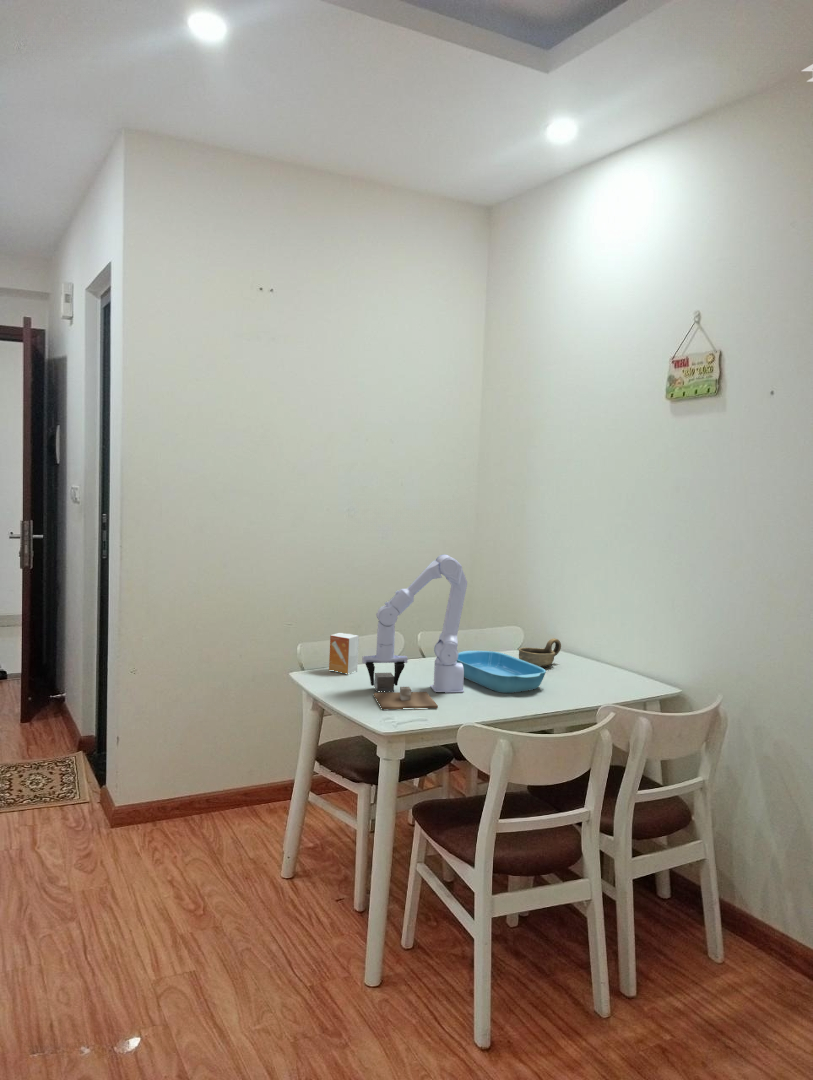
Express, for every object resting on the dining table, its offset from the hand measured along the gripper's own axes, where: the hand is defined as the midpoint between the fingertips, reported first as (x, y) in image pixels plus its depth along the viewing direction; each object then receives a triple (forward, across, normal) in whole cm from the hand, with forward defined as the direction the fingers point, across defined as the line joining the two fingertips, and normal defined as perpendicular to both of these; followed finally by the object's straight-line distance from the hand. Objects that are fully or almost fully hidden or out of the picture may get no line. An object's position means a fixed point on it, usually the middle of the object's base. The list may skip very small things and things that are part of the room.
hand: (383, 684), depth 262 cm
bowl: (+2, -65, -29) cm, 71 cm away
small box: (+2, +10, -24) cm, 26 cm away
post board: (+2, -4, +14) cm, 15 cm away
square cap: (+2, 0, 0) cm, 2 cm away
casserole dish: (+2, -41, -8) cm, 42 cm away
